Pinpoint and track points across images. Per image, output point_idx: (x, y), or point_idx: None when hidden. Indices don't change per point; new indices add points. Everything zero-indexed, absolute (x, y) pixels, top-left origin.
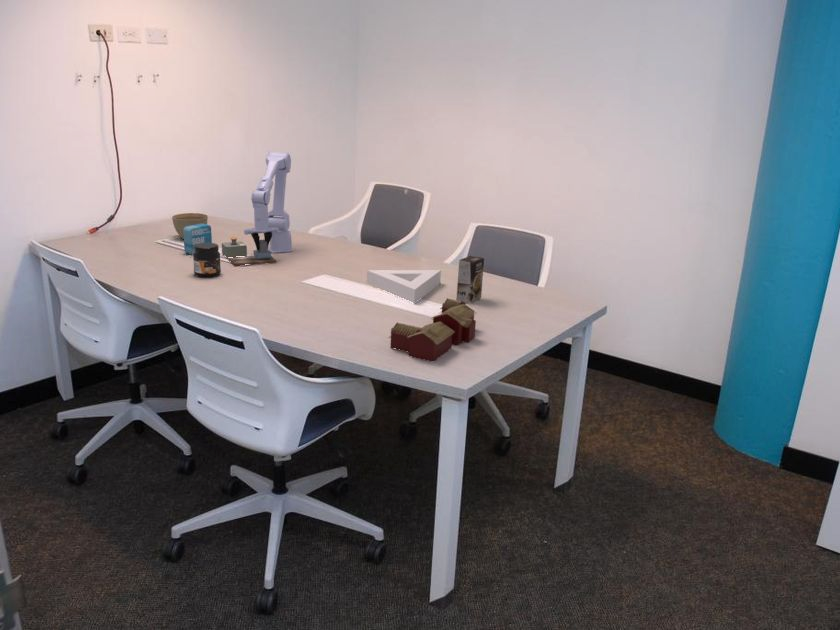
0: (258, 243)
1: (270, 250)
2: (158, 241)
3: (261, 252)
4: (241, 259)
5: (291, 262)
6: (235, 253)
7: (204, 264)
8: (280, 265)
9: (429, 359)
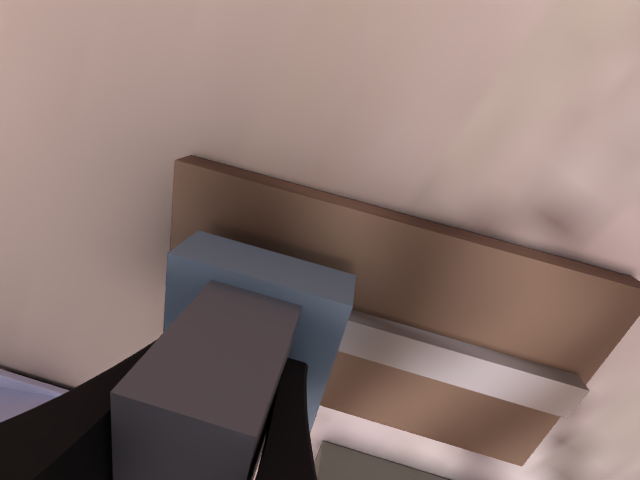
0: (279, 447)
1: None
2: None
3: (286, 304)
4: (495, 357)
5: (43, 83)
6: None
7: None
8: (188, 30)
9: None
